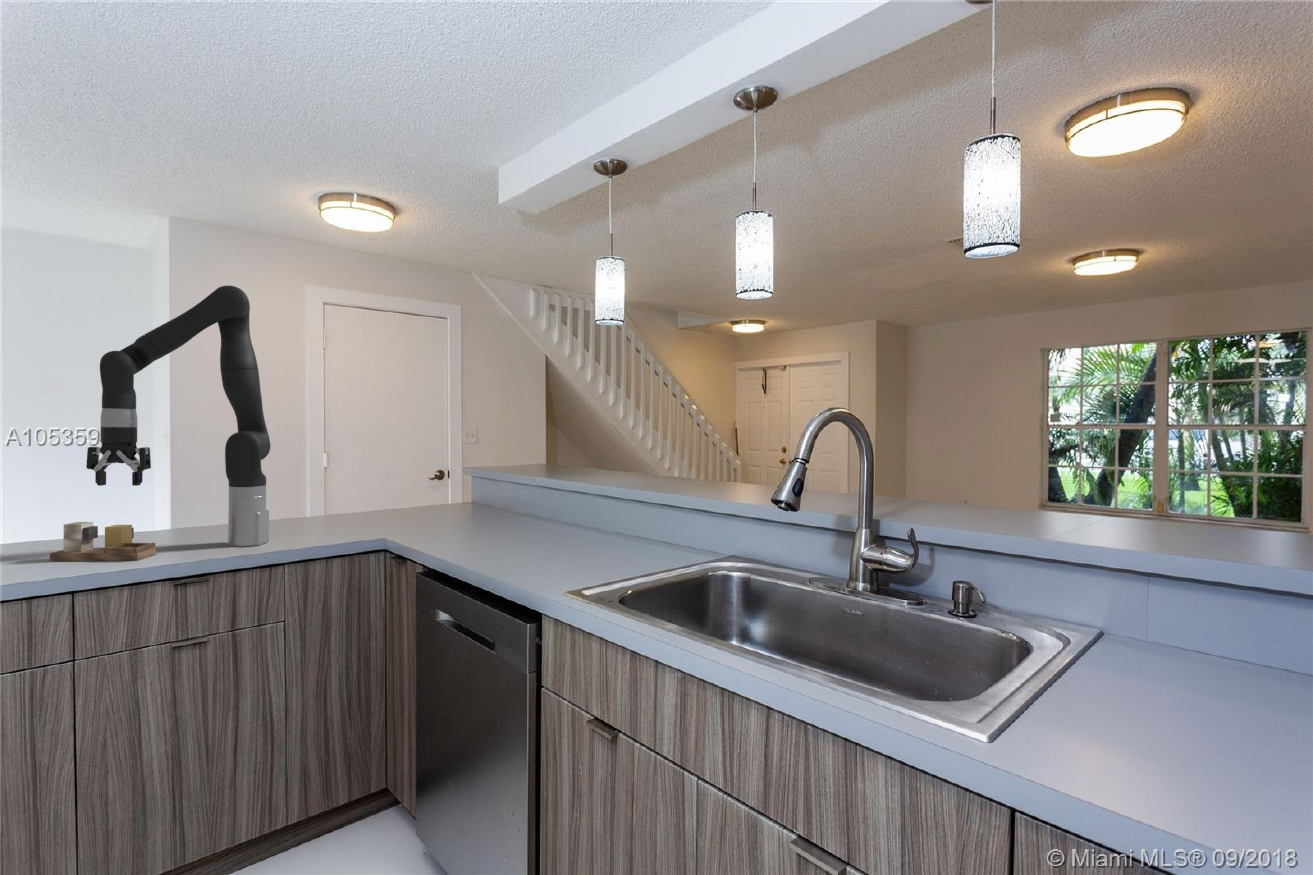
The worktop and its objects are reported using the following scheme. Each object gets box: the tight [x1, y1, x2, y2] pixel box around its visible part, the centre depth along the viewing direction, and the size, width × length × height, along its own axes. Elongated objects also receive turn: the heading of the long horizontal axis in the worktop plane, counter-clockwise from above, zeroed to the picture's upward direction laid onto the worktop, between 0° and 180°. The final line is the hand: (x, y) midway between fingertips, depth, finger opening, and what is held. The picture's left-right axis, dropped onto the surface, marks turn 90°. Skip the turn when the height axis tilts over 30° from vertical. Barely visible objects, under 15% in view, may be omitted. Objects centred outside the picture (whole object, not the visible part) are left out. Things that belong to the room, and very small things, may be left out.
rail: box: [49, 521, 157, 562], centre depth 159 cm, size 20×7×9 cm, turn 98°
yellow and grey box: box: [104, 524, 135, 548], centre depth 168 cm, size 5×4×7 cm
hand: (119, 485), depth 167 cm, fingers open, 8 cm apart
